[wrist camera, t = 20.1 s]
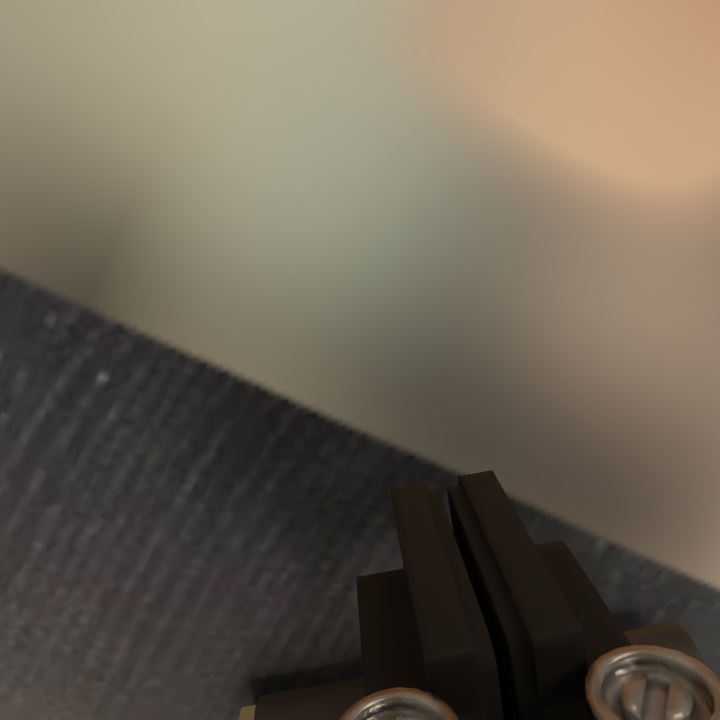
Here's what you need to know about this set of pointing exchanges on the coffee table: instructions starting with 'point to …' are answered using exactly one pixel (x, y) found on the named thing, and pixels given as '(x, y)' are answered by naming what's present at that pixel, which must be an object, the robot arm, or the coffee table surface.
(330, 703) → the drawer
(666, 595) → the coffee table surface
